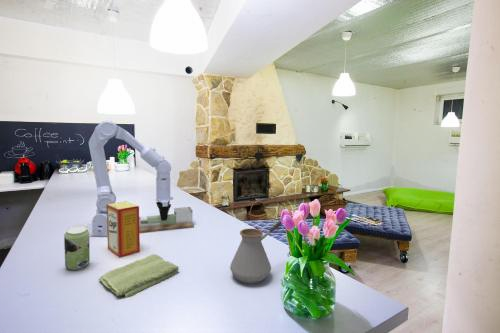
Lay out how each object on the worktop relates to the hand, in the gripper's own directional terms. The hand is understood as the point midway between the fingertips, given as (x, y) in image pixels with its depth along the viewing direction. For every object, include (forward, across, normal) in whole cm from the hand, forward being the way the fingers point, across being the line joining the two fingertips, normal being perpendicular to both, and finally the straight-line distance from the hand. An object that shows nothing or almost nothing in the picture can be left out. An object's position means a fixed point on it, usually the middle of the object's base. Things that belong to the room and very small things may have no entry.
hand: (163, 219), depth 115 cm
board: (+3, 0, -1) cm, 3 cm away
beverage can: (+3, -30, +27) cm, 40 cm away
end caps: (+2, 0, -1) cm, 2 cm away
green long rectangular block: (+2, 0, 0) cm, 2 cm away
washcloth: (+4, -43, +10) cm, 44 cm away
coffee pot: (+3, -51, -23) cm, 56 cm away
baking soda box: (+3, -22, +15) cm, 27 cm away
